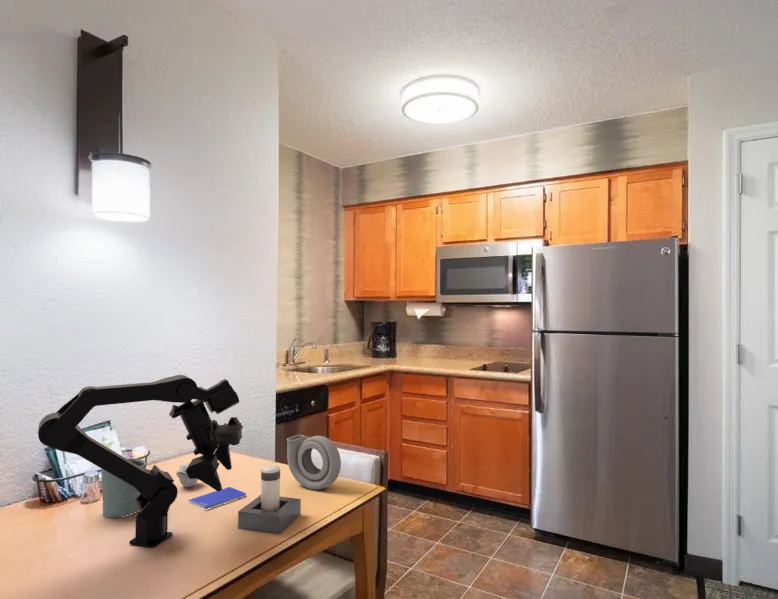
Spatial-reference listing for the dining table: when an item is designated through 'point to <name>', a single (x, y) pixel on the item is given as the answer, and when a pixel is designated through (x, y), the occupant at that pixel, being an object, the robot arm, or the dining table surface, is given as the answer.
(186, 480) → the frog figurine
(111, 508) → the grey green pot
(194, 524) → the dining table surface
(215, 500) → the hard drive
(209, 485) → the robot arm
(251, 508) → the frame
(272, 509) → the white rounded cylinder
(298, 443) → the turbocharger housing
